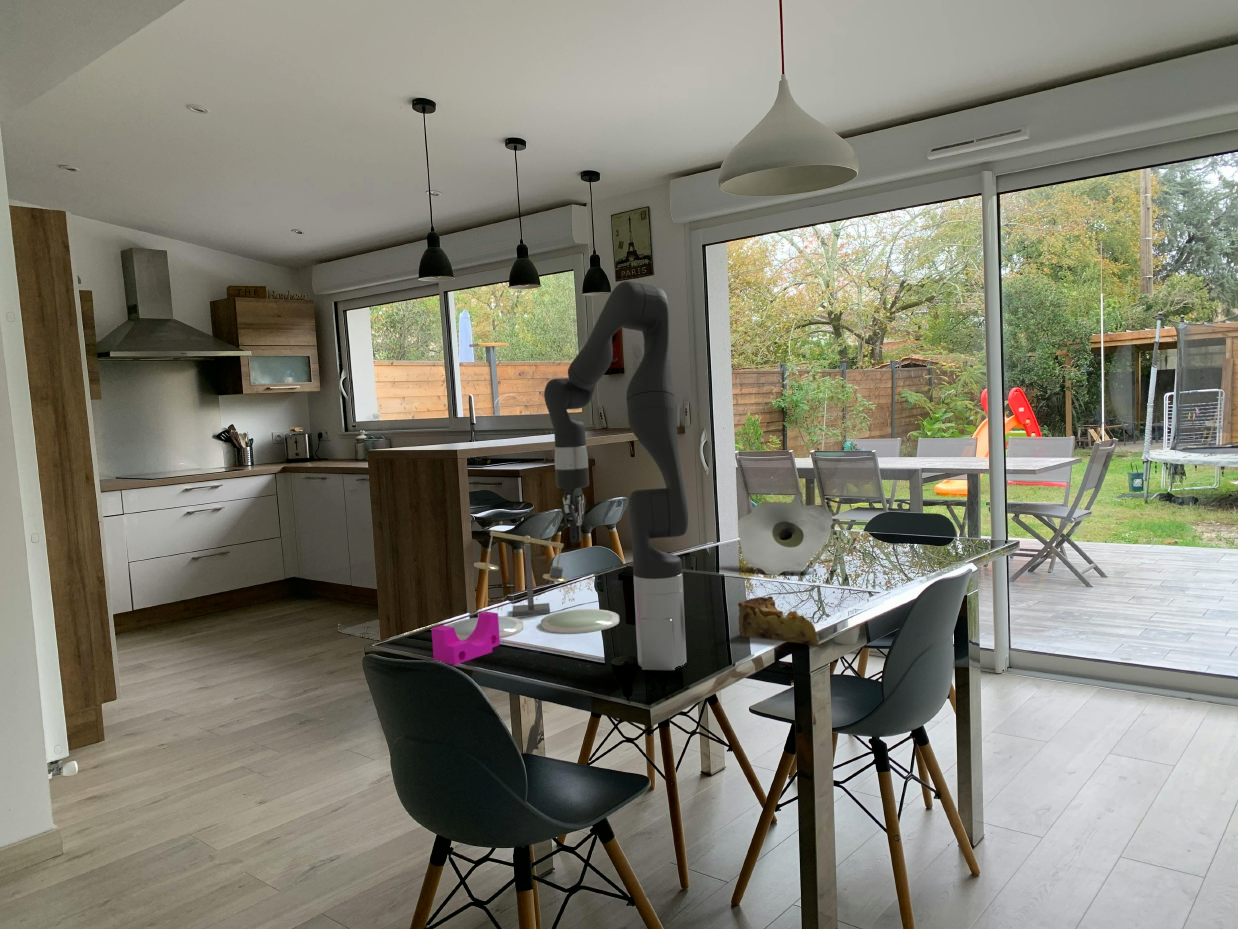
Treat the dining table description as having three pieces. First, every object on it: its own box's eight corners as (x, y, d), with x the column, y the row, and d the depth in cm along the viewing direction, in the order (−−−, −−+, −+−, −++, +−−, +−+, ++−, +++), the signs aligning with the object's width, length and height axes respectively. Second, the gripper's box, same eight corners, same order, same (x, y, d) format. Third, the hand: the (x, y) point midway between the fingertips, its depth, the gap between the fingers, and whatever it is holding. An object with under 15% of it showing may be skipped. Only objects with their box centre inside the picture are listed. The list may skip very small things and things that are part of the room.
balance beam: (474, 563, 216) (481, 526, 216) (566, 578, 219) (573, 542, 218) (473, 567, 210) (480, 529, 210) (567, 583, 213) (574, 546, 212)
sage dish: (609, 635, 191) (608, 629, 191) (530, 634, 195) (530, 628, 195) (626, 614, 208) (626, 609, 208) (554, 613, 212) (554, 608, 212)
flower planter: (817, 602, 254) (724, 577, 265) (844, 510, 264) (753, 490, 275) (813, 584, 240) (715, 558, 251) (842, 488, 251) (747, 467, 262)
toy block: (455, 669, 173) (452, 632, 172) (434, 664, 177) (431, 628, 176) (508, 649, 185) (506, 614, 184) (487, 645, 189) (485, 611, 188)
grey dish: (507, 643, 189) (507, 637, 188) (430, 642, 193) (429, 636, 193) (534, 621, 206) (533, 616, 206) (462, 621, 210) (462, 615, 210)
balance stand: (513, 610, 218) (508, 543, 217) (549, 607, 219) (545, 541, 218) (512, 616, 212) (508, 547, 211) (550, 613, 213) (546, 545, 212)
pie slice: (735, 639, 184) (733, 601, 183) (768, 629, 190) (767, 593, 189) (801, 657, 169) (799, 616, 169) (835, 646, 175) (834, 606, 175)
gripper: (579, 468, 191) (584, 547, 193) (595, 463, 204) (599, 536, 206) (547, 469, 193) (551, 547, 195) (564, 464, 206) (568, 537, 207)
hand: (575, 541), depth 200 cm, fingers closed
